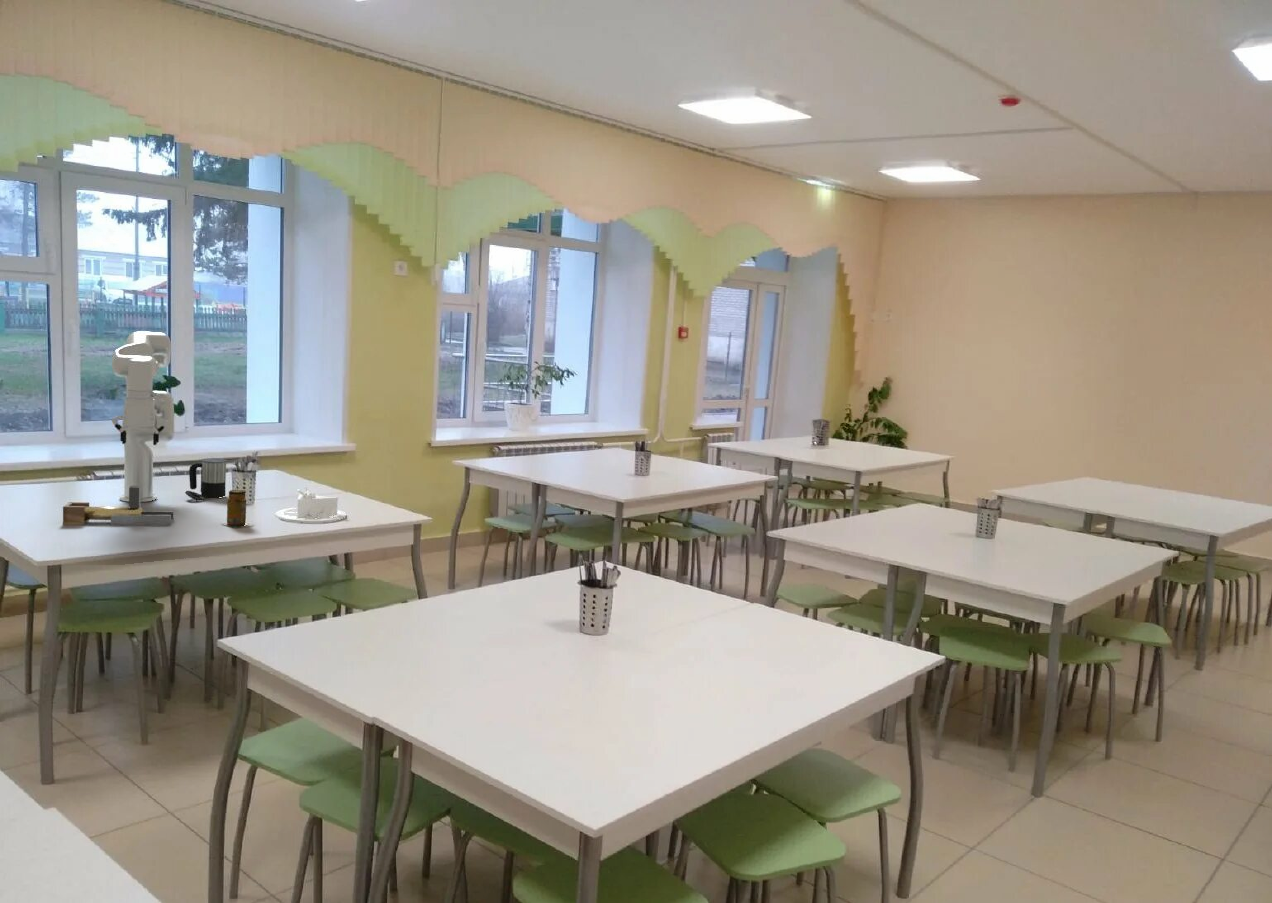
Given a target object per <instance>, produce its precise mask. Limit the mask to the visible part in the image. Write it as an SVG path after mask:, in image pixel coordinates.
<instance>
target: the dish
mask: <svg viewBox="0 0 1272 903" xmlns="http://www.w3.org/2000/svg"><path fill="white" fill-rule="evenodd" d="M304 489H305V492H303V491H302V490H301V489H299V488H298V489H296V491H297V492H298V493H300V494H298V498H297V504H296V505H297V506H296V507H288V508H282V509H280V510H277V511H276V512H275V513H274V515H275V516H274V517H275V519H277V518H278V519H277V520H279V519H282V520H281V521H283V520H285V521H284V522H287V521H291V522H290V523H294V522H303V523H302V524H324V523H323V522H329V523H331V522H330V521H335V520H339V519H342V518H344V517H346V516H347V514H346V512H345V511H343V510H340V509H338V501H339V500H338V499H339V498H338V497H335V496H334V497H333V496H323V495H316V494H315V492H312V491H309V490H308V488H307V486H306V484H304ZM295 510H297V512H296V513H297V517H296V516H289V515H284V513H295V512H292V511H295ZM337 513H338V514H339V516H337V517H333V518H330V517H329V516H332V515H333V516H334V515H337ZM296 518H305V519H296ZM315 518H317V519H315ZM346 518H347V517H346Z"/></svg>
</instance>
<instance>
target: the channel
mask: <svg viewBox="0 0 1272 903" xmlns="http://www.w3.org/2000/svg"><path fill="white" fill-rule="evenodd" d="M174 519H175V511H174V510H142V515H115V514H112V515H111V520H110V526H171V525H172V524H173V522H174V521H175V520H174Z"/></svg>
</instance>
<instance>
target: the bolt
mask: <svg viewBox="0 0 1272 903" xmlns="http://www.w3.org/2000/svg"><path fill="white" fill-rule="evenodd" d="M141 503H142V502H141V486H130V487H129V502H128V506H89V507H85V520H88V521H111V515H112V514H115V515H142V511H143V507H141Z"/></svg>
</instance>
